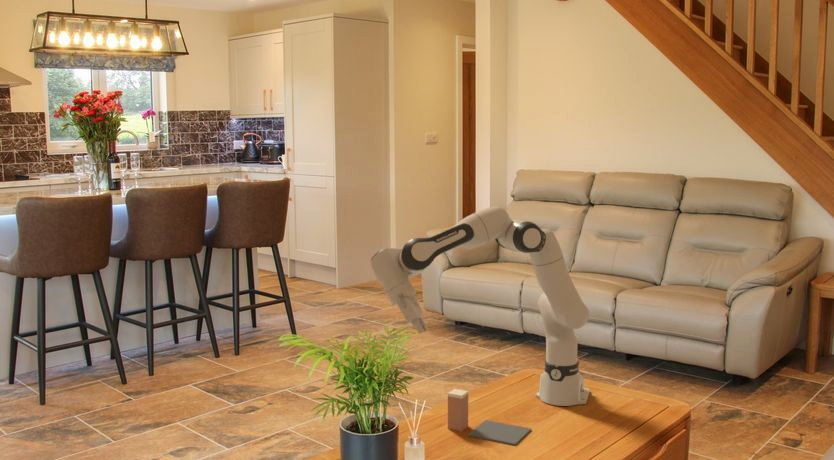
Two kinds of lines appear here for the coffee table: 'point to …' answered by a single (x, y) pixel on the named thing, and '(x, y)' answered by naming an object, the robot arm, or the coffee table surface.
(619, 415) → the coffee table surface
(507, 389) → the coffee table surface
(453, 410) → the tall block
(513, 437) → the slate mat
